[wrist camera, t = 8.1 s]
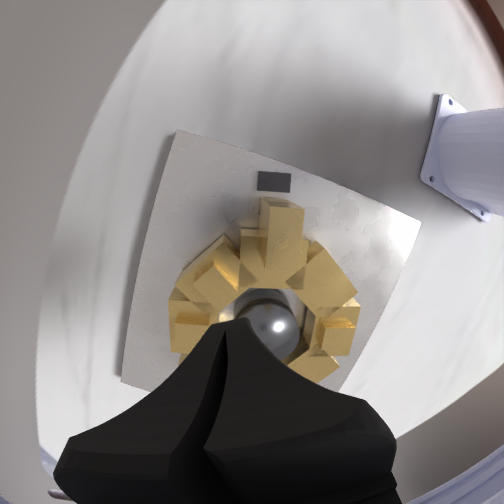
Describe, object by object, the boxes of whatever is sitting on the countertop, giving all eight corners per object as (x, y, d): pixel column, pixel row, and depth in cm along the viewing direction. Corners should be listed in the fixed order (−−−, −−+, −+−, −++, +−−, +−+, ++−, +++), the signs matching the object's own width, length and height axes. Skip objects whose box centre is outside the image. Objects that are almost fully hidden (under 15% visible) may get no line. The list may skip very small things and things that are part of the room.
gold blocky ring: (329, 382, 22) (345, 420, 18) (178, 379, 21) (169, 421, 17) (364, 207, 18) (400, 219, 14) (175, 192, 17) (156, 200, 13)
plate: (413, 220, 20) (445, 231, 16) (313, 417, 25) (323, 447, 21) (180, 131, 18) (166, 121, 14) (123, 374, 22) (110, 404, 18)
